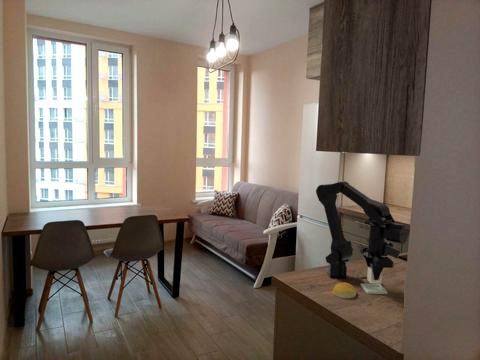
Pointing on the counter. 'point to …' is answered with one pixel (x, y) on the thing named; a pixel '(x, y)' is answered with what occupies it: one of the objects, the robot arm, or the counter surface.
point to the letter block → (371, 277)
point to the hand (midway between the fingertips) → (374, 277)
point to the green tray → (373, 288)
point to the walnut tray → (365, 281)
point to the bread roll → (344, 290)
